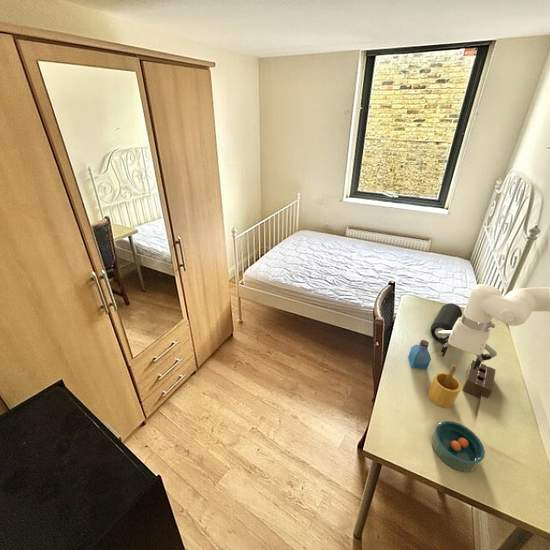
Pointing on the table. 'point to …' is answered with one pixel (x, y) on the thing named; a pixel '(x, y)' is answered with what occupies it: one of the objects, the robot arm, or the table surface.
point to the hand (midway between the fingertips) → (458, 360)
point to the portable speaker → (445, 320)
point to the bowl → (465, 457)
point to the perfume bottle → (420, 355)
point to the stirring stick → (450, 376)
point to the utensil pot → (444, 390)
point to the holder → (479, 380)
